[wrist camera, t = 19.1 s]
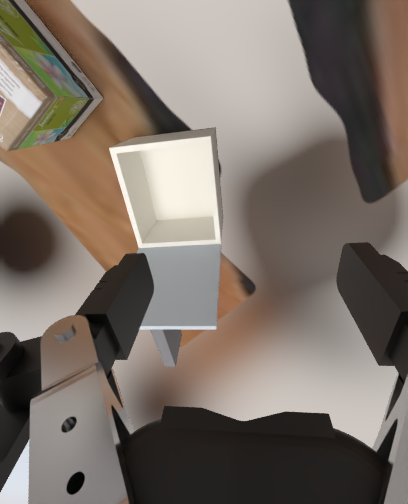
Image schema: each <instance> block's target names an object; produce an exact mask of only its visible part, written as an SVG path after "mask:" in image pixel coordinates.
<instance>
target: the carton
mask: <svg viewBox="0 0 408 504" xmlns="http://www.w3.org/2000/svg"><path fill="white" fill-rule="evenodd" d="M109 150H110V153H111V156H112V160H113V163H114V166H115V170H116V173H117V176H118V180H119V183H120V186H121V190H122V193H123V196H124V200H125V203H126V206H127V210H128V213H129V216H130V220H131V223H132V226H133V230H134V233H135V236H136V240H137V243H138V246H139V248H148V247H167V246H187V245H206V244H221V237H222V226H223V211H222V198H221V187H220V175H219V163H218V151H217V139H216V128H207V129H200V130H191V131H183V132H174V133H166V134H158V135H150V136H142V137H134V138H131V139H129V140H127V141H124V142H122V143H120V144H117V145H115V146H113V147H110V148H109Z"/></svg>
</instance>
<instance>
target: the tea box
mask: <svg viewBox="0 0 408 504" xmlns="http://www.w3.org/2000/svg"><path fill="white" fill-rule="evenodd" d="M102 100H103V97H102V96H101V95H100V93H99V92H98V91H97V89H96V88H95V87H94V85H93V84H92V83H91V82H90V80H89V79H88V78H87V77H86V76H85V74H84V73H83V72H82V71H81V69H80V68H79V67H78V66H77V64H76V63H75V62H74V61H73V60H72V58H71V57H70V56H69V55H68V53H67V52H66V51H65V50H64V49H63V47H62V46H61V45H60V43H59V42H58V41H57V40H56V38H55V37H54V36H53V35H52V34H51V33H50V31H49V30H48V29H47V28H46V26H45V25H44V24H43V22H42V21H41V20H40V19H39V18H38V16H37V15H36V14H35V13H34V12H33V10H32V9H31V8H30V7H29V5H28V4H27V3H26V2H25V1H24V0H0V146H1V147H2V148H4V149H5V150H6V151H11V150H17V149H22V148H26V147H31V146H36V145H41V144H46V143H50V142H55V141H59V140H64V139H69V138H71V137H72V136H73V134H74V133H75V132H76V131H77V129H78V128H79V127H80V125H81V124H82V123H83V122H84V121H85V120H86V119H87V117H88V116H89V115H90V114H91V113H92V111H93V110H94V109H95V108H96V107H97V106H98V105H99V103H100V102H101V101H102Z"/></svg>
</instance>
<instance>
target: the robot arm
mask: <svg viewBox="0 0 408 504" xmlns="http://www.w3.org/2000/svg"><path fill="white" fill-rule="evenodd" d="M337 286H338V290H339V292H340V294H341V296H342V298H343V300H344V302H345V304H346V305H347V307H348V309H349V311H350V313H351V315H352V317H353V318H354V320H355V322H356V324H357V325H358V328H359V329H360V331H361V333H362V335H363V337H364V339H365V341H366V343H367V345H368V346H369V348H370V350H371V352H372V354H373V356H374V357H375V359H376V361H377V363H378V365H379V366H395V368H396V369H397V371H398V375H397V377H396V379H395V382H394V385H393V389H392V392H391V395H390V399H389V402H388V405H387V409H386V412H385V415H384V418H383V422H382V425H381V428H380V431H379V433H378V436H377V438H376V441H375V443H374V446H373V448H370V447H369V446H367V445H366V444H365V443H363V442H361V441H360V440H358V439H356V438H354V437H353V436H351V435H349V434H346V433H344V432H342V431H340V430H337V429H334V428H333V426H332V423H331V420H330V417H329V414H324V413H302V412H282V413H278V414H274V415H270V416H266V417H261V418H257V419H253V420H249V421H239V420H236V419H233V418H230V417H227V416H224V415H221V414H218V413H215V412H212V411H209V410H207V409H204V408H195V407H173V406H164V410H163V415H162V419H159V420H157V421H154V422H151V423H149V424H147V425H145V426H143V427H141V428H139V429H138V430H136V431H135V432H134V429H133V427H132V424H131V422H130V420H129V417H128V414H127V411H126V408H125V405H124V402H123V399H122V396H121V393H120V389H119V386H118V383H117V380H116V377H115V374H114V371H113V369H112V366H113V364H114V361H115V360H127V358H128V356H129V354H130V351H131V348H132V346H133V344H134V341H135V339H136V336H137V333H138V331H139V329H140V326H141V324H142V321H143V319H144V316H145V314H146V311H147V309H148V306H149V304H150V301H151V299H152V296H153V293H154V281H153V278H152V274H151V271H150V267H149V264H148V260H147V257H146V255H145V254H144V253H130V254H125V256H124V257H123V258H122V260H121V261H120V263H119V264H118V265H115V266H114V267H112V268H111V269H110V270H108V271H107V272H106V273H105V274H104V275H103V277H102V278H101V280H100V281H99V283H98V284H97V285H96V287H95V288H94V290H93V291H92V292H91V293H90V295H89V296H88V298H87V299H86V300H85V302H84V303H83V305H82V306H81V307H80V309H79V310H78V312H77V313H76V314H75V315H73V316H68V317H65V318H63V319H61V320H59V321H57V322H55V323H54V324H53V325H51V326H50V327H49V328H48V329H47V330H46V331H45V333H44V334H43V336H41V337H37V338H33V339H30V340H26V341H22V342H20V341H19V340H18V339H17V337H16V336H15V335H14V334H13V333H11V332H2V333H0V492H1V490H2V488H3V486H4V484H5V483H6V481H7V479H8V477H9V475H10V473H11V472H12V470H13V468H14V466H15V464H16V462H17V461H18V459H19V457H20V455H21V453H22V451H23V450H24V448H25V446H26V444H27V442H28V440H29V439H30V444H29V447H30V448H29V503H28V504H408V271H407V270H406V269H405V268H404V267H403V266H402V265H401V264H400V263H399V262H397V261H395V260H393V259H391V258H389V257H388V256H386V255H380V254H379V253H378V252H377V251H376V250H375V249H374V247H373V246H371V244H370V243H367V242H366V243H346V244H345V245H344V246H343V249H342V254H341V258H340V263H339V268H338V273H337Z"/></svg>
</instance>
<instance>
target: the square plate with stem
mask: <svg viewBox="0 0 408 504" xmlns="http://www.w3.org/2000/svg"><path fill="white" fill-rule="evenodd" d="M137 253H144V254H145V255H146V257H147V260H148V264H149V267H150V271H151V274H152V278H153V281H154V293H153V296H152V299H151V301H150V304H149V306H148V309H147V311H146V314H145V316H144V319H143V321H142V324H141V326H140V329H150V331H151V333H152V336H153V338H154V341H155V343H156V346H157V348H158V351H159V353H160V356H161V358H162V361H163V363H164V366H168V367H169V366H170V367H175V366H176V362H177V356H178V351H179V346H180V341H181V336H182V334H181V330H180V329H216V326H217V310H218V294H219V277H220V261H221V244H211V245H192V246H172V247H153V248H139V249H138V251H137Z"/></svg>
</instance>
